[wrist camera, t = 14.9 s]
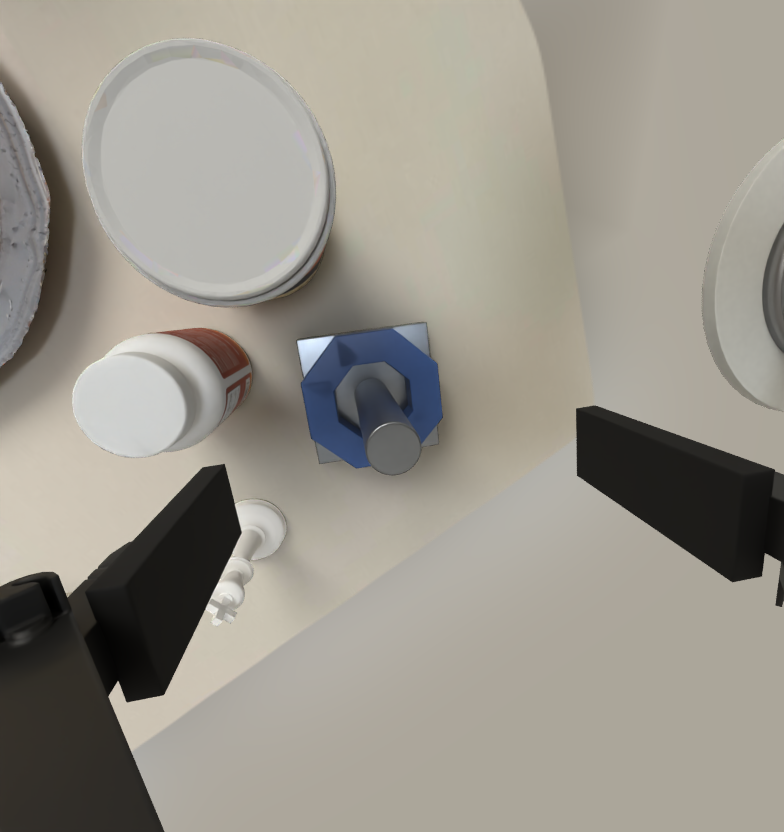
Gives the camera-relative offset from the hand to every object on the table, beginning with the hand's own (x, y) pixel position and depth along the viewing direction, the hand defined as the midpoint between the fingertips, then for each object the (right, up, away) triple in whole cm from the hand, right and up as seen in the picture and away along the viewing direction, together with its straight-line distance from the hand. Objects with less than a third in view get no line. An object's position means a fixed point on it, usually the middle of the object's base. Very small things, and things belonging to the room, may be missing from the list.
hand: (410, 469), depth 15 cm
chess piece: (-11, -7, +17) cm, 21 cm away
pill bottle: (-14, +5, +14) cm, 20 cm away
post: (-2, +4, +15) cm, 16 cm away
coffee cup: (-9, +14, +12) cm, 20 cm away
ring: (-2, +3, +14) cm, 14 cm away
